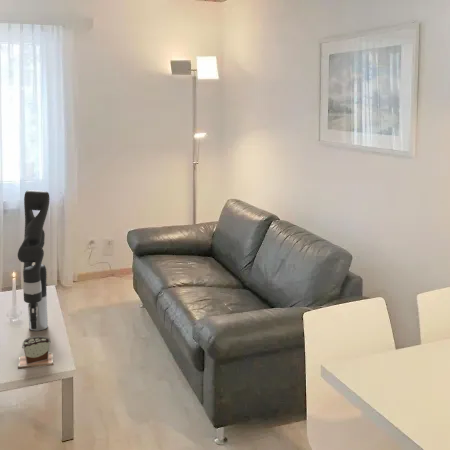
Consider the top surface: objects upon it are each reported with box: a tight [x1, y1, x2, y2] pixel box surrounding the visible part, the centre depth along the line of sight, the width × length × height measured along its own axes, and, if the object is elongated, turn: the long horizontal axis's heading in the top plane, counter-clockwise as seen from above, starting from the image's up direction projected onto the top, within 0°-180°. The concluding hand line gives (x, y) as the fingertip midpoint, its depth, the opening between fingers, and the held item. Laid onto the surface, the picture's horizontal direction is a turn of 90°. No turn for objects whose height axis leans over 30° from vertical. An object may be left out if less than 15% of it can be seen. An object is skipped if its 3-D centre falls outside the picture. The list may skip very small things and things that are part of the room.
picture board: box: [17, 352, 54, 370], centre depth 261 cm, size 11×15×1 cm
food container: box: [21, 335, 51, 364], centre depth 260 cm, size 12×6×10 cm, turn 125°
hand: (34, 324), depth 256 cm, fingers open, 8 cm apart
